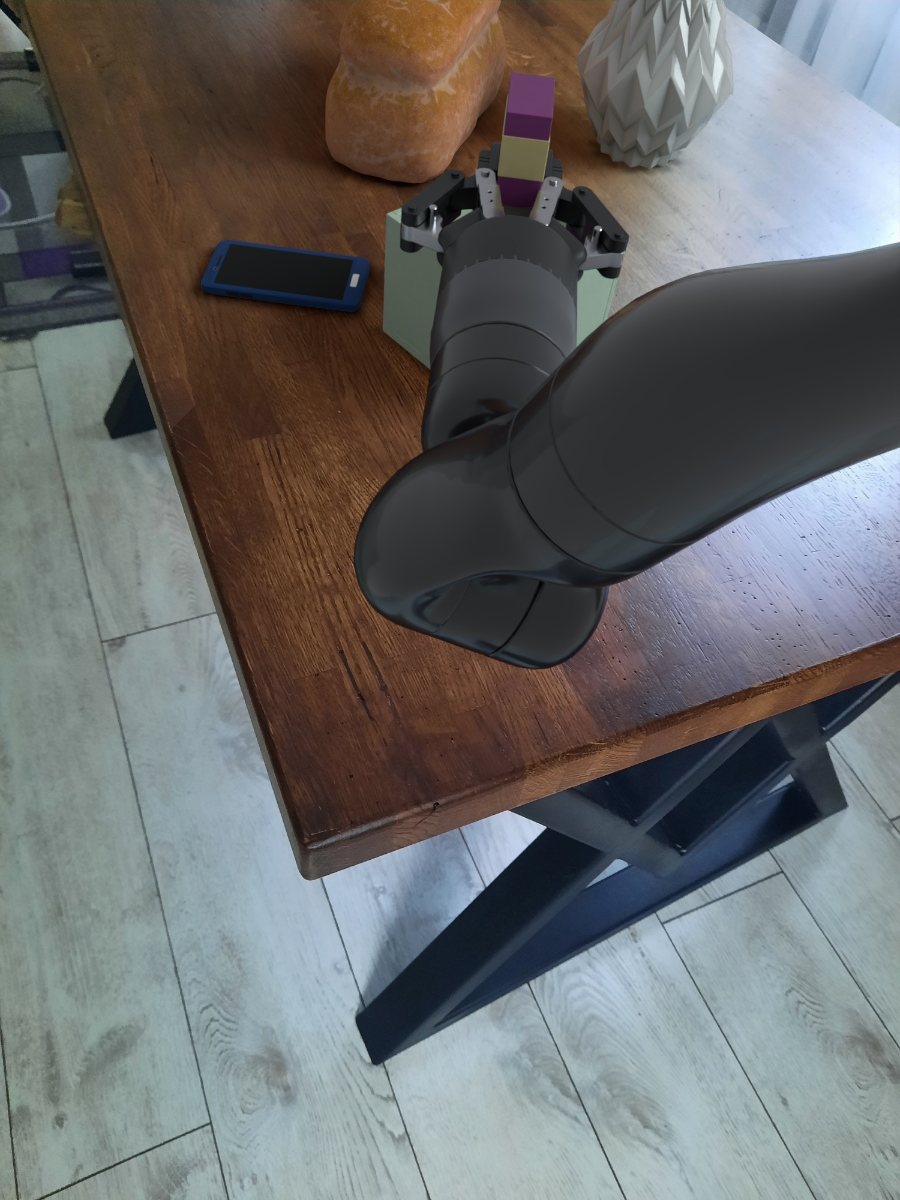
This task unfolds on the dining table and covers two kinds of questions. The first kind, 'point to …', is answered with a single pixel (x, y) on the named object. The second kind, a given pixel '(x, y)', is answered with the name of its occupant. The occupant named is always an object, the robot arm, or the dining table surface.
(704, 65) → the vase
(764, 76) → the dining table surface
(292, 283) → the cell phone
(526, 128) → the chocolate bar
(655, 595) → the dining table surface
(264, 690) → the dining table surface
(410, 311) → the open storage box
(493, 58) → the bread
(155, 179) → the dining table surface
